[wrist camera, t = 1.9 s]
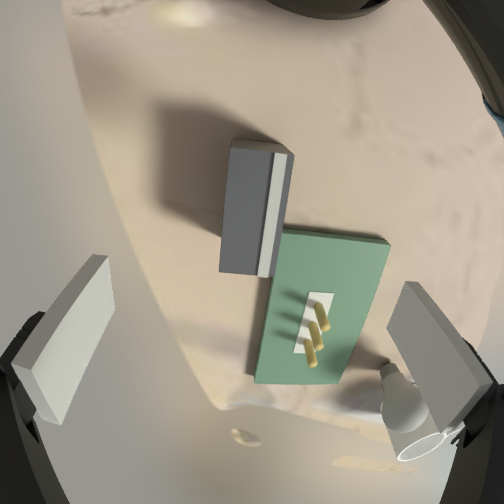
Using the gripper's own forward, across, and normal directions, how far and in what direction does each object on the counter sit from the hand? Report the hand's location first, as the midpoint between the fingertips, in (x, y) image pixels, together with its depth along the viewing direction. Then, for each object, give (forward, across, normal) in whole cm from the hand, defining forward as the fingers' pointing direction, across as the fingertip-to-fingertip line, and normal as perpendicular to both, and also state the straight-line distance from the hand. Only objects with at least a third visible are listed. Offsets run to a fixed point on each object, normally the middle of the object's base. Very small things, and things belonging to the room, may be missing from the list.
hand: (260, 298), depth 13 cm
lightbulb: (+16, +21, -21) cm, 34 cm away
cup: (+16, +30, -29) cm, 45 cm away
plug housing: (+16, 0, 0) cm, 16 cm away
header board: (+16, +8, -13) cm, 22 cm away
